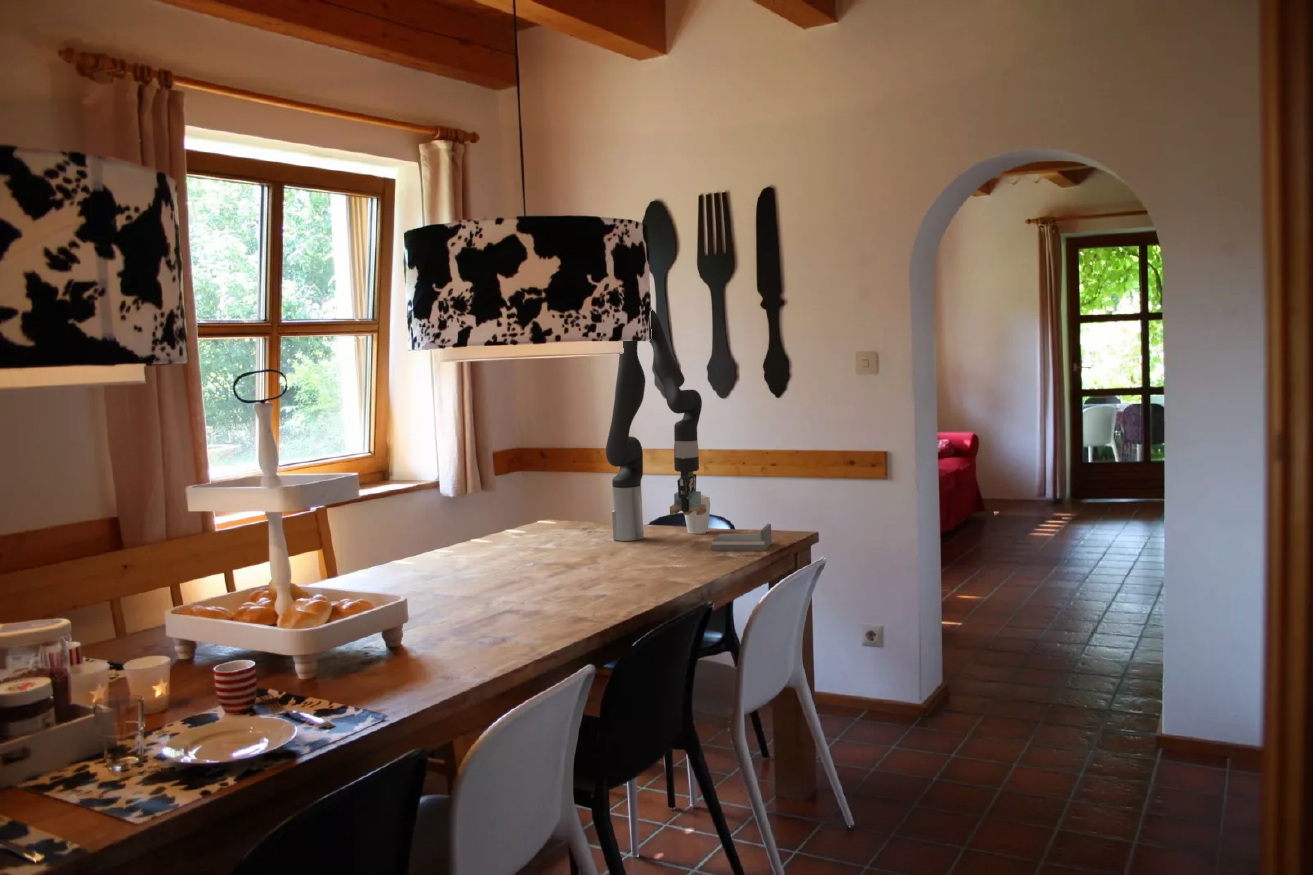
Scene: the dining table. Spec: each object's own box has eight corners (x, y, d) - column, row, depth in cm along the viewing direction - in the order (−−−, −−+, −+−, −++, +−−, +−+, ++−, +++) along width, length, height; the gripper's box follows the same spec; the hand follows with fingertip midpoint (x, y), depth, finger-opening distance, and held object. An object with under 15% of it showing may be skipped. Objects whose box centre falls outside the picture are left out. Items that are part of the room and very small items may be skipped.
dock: (711, 550, 316) (711, 530, 316) (720, 543, 328) (719, 524, 328) (764, 550, 312) (763, 530, 312) (771, 543, 324) (770, 523, 323)
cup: (679, 532, 352) (677, 496, 351) (703, 529, 356) (702, 493, 355) (691, 535, 344) (690, 499, 343) (716, 532, 348) (714, 496, 347)
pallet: (669, 514, 323) (669, 493, 322) (674, 511, 328) (674, 491, 327) (701, 515, 320) (701, 494, 319) (706, 512, 325) (705, 491, 325)
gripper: (680, 452, 330) (682, 506, 332) (668, 458, 316) (669, 513, 318) (703, 452, 328) (705, 506, 330) (692, 458, 314) (694, 514, 316)
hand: (687, 509), depth 324 cm, fingers closed on pallet, 5 cm apart
